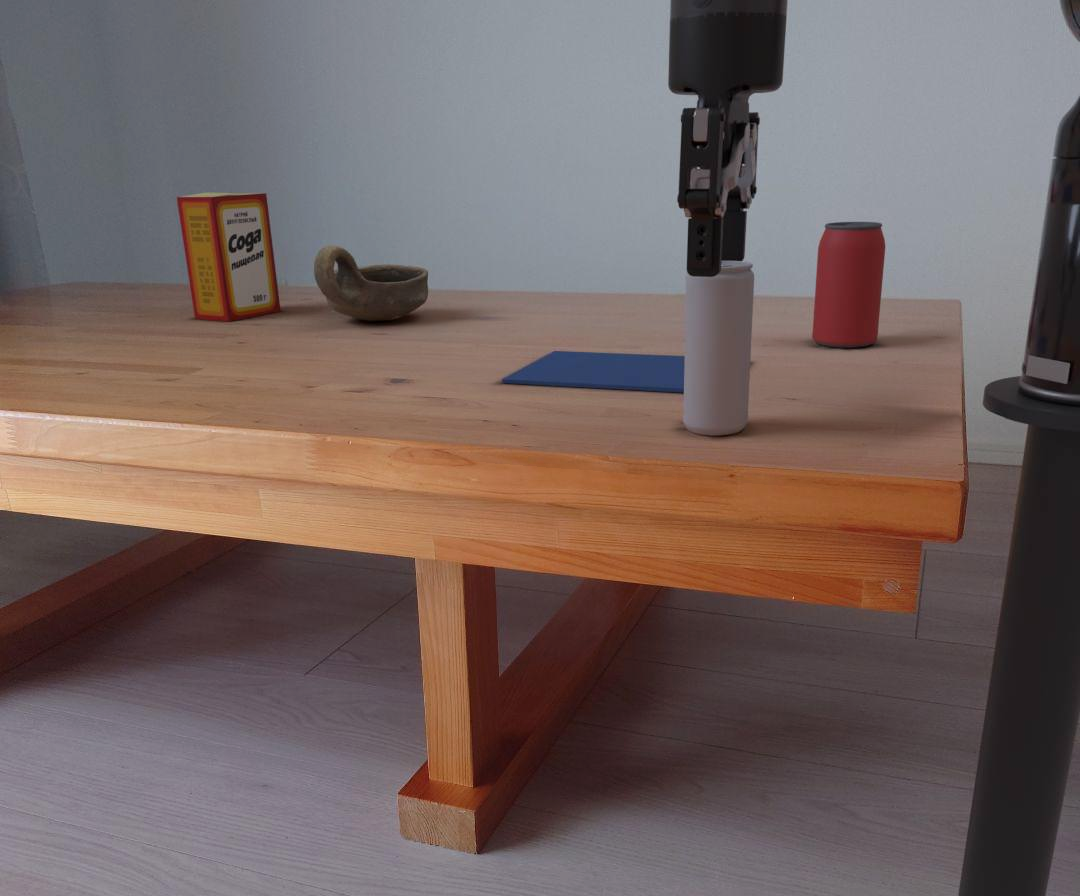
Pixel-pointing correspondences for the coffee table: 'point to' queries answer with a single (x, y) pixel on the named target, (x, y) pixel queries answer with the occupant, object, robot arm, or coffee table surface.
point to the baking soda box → (229, 255)
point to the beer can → (849, 284)
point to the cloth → (604, 371)
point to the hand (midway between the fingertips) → (716, 269)
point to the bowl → (369, 286)
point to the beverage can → (718, 349)
